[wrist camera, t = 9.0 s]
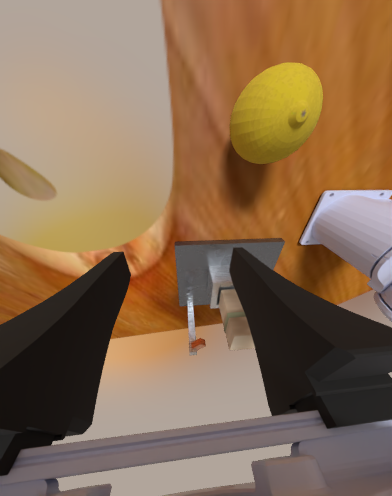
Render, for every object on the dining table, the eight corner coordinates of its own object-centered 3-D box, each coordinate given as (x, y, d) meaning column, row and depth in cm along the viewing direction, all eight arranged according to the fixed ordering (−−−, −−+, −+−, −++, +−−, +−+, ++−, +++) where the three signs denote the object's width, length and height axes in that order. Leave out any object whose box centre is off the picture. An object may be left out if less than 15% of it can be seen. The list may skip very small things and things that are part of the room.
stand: (281, 238, 23) (332, 286, 15) (258, 296, 31) (284, 347, 23) (174, 241, 21) (172, 296, 14) (179, 301, 29) (179, 357, 22)
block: (245, 288, 21) (266, 333, 16) (241, 303, 23) (258, 348, 18) (220, 289, 21) (233, 336, 16) (218, 305, 23) (229, 350, 18)
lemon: (263, 162, 17) (317, 175, 10) (215, 155, 16) (240, 164, 9) (287, 93, 14) (387, 46, 7) (228, 79, 13) (279, 12, 6)
